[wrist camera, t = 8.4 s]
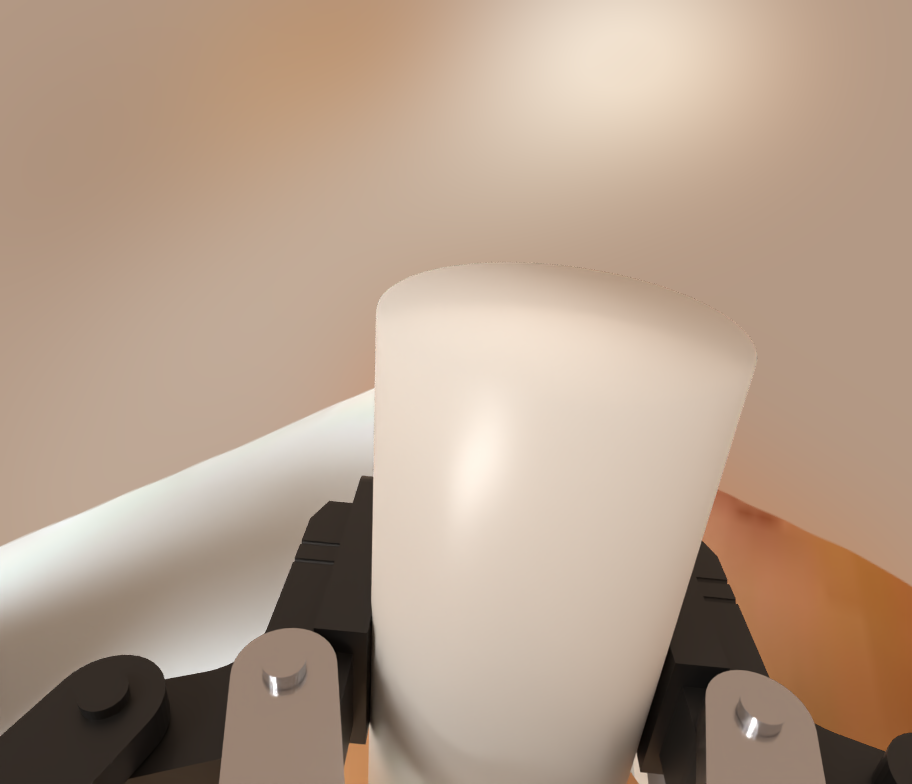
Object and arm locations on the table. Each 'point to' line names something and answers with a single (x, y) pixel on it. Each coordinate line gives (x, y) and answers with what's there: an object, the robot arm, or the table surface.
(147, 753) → the robot arm
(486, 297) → the orange ring peg
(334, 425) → the table surface
